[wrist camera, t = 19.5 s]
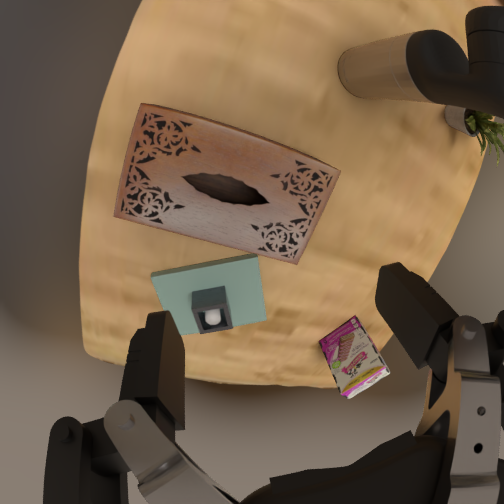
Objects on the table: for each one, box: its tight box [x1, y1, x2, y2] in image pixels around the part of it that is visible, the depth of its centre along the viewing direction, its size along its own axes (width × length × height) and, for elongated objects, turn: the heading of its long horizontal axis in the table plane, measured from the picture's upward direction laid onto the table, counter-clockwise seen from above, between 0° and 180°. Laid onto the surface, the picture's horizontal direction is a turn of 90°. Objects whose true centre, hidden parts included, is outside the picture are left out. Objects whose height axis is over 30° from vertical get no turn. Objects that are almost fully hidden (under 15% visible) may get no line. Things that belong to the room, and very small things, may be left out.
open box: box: [191, 286, 233, 334], centre depth 48 cm, size 6×6×5 cm
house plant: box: [445, 105, 504, 165], centre depth 33 cm, size 14×14×16 cm
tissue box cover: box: [113, 103, 341, 265], centre depth 36 cm, size 26×14×10 cm, turn 69°
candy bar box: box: [319, 316, 390, 399], centre depth 55 cm, size 11×5×16 cm, turn 130°
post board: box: [151, 253, 267, 335], centre depth 48 cm, size 19×15×6 cm
